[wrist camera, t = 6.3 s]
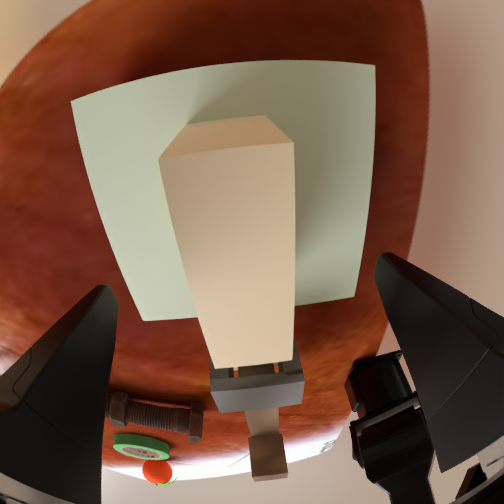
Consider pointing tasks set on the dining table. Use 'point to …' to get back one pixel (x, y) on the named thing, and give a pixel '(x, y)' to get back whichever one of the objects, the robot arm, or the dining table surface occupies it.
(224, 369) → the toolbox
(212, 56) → the dining table surface
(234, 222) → the lid
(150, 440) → the tape roll
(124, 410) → the bolt
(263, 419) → the key
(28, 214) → the dining table surface
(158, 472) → the clementine
